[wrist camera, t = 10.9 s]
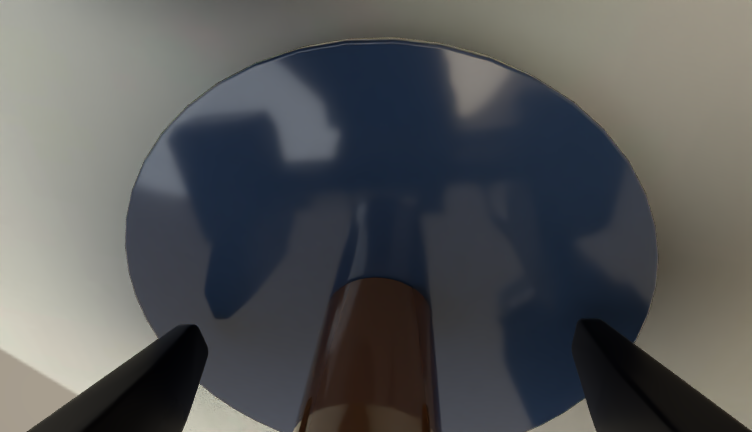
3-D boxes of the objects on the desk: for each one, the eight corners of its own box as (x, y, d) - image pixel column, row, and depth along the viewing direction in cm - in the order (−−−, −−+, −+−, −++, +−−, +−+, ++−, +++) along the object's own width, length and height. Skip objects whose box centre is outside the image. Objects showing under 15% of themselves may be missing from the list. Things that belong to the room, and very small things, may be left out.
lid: (581, 425, 12) (680, 665, 8) (230, 419, 14) (145, 621, 9) (711, -1, 6) (1461, -14, 2) (59, 65, 8) (-431, 151, 3)
